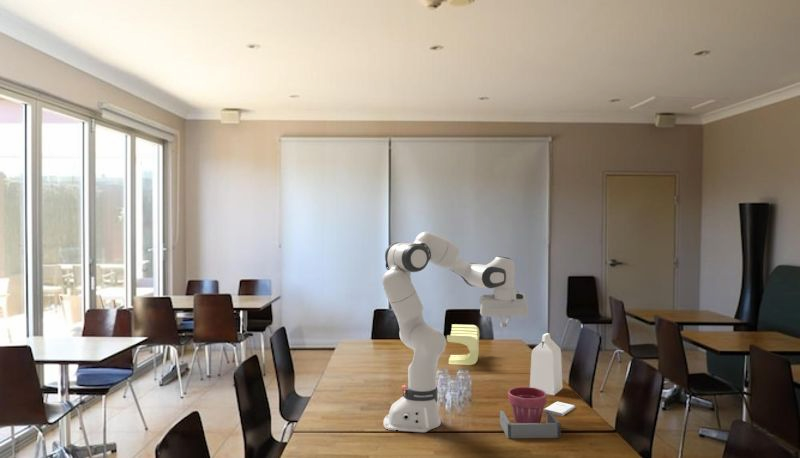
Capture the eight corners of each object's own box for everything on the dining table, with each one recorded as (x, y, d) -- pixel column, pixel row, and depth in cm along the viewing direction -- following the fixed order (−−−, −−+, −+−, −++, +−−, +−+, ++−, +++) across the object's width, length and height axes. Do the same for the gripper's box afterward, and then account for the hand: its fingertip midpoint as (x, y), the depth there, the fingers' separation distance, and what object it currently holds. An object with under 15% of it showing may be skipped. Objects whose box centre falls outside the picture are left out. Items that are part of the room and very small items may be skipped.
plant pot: (506, 429, 199) (506, 396, 198) (510, 416, 212) (510, 385, 212) (545, 434, 194) (545, 400, 194) (547, 420, 208) (547, 388, 207)
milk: (538, 384, 254) (538, 330, 253) (562, 388, 247) (562, 333, 246) (529, 390, 244) (529, 335, 243) (553, 395, 237) (553, 338, 237)
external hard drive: (543, 412, 217) (556, 404, 227) (562, 417, 212) (575, 408, 221) (543, 408, 217) (556, 400, 227) (562, 413, 212) (575, 405, 221)
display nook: (507, 438, 191) (507, 424, 191) (500, 423, 205) (500, 410, 205) (560, 437, 191) (560, 424, 191) (549, 422, 205) (549, 410, 205)
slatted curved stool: (476, 369, 279) (476, 336, 279) (447, 368, 282) (446, 335, 282) (479, 355, 308) (479, 325, 308) (452, 354, 311) (452, 324, 311)
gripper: (480, 295, 220) (481, 328, 220) (529, 295, 220) (529, 328, 220) (478, 293, 226) (478, 325, 227) (525, 293, 227) (525, 325, 227)
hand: (504, 326), depth 224 cm, fingers closed
